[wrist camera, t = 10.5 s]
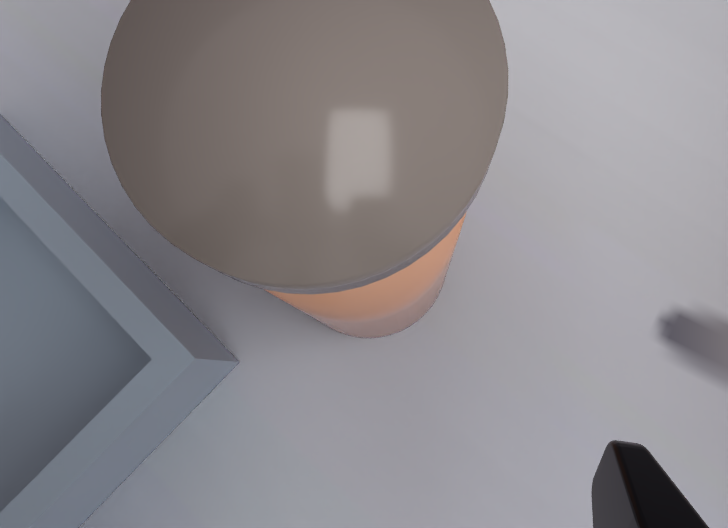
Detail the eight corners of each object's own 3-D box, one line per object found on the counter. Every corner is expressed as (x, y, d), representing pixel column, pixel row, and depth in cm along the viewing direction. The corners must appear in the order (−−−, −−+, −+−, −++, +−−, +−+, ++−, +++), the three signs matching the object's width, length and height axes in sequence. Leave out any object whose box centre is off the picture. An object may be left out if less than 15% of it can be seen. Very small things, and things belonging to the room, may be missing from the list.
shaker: (370, 375, 20) (298, 375, 7) (256, 263, 20) (21, 94, 8) (484, 256, 20) (597, 65, 8) (367, 151, 21) (300, -171, 9)
